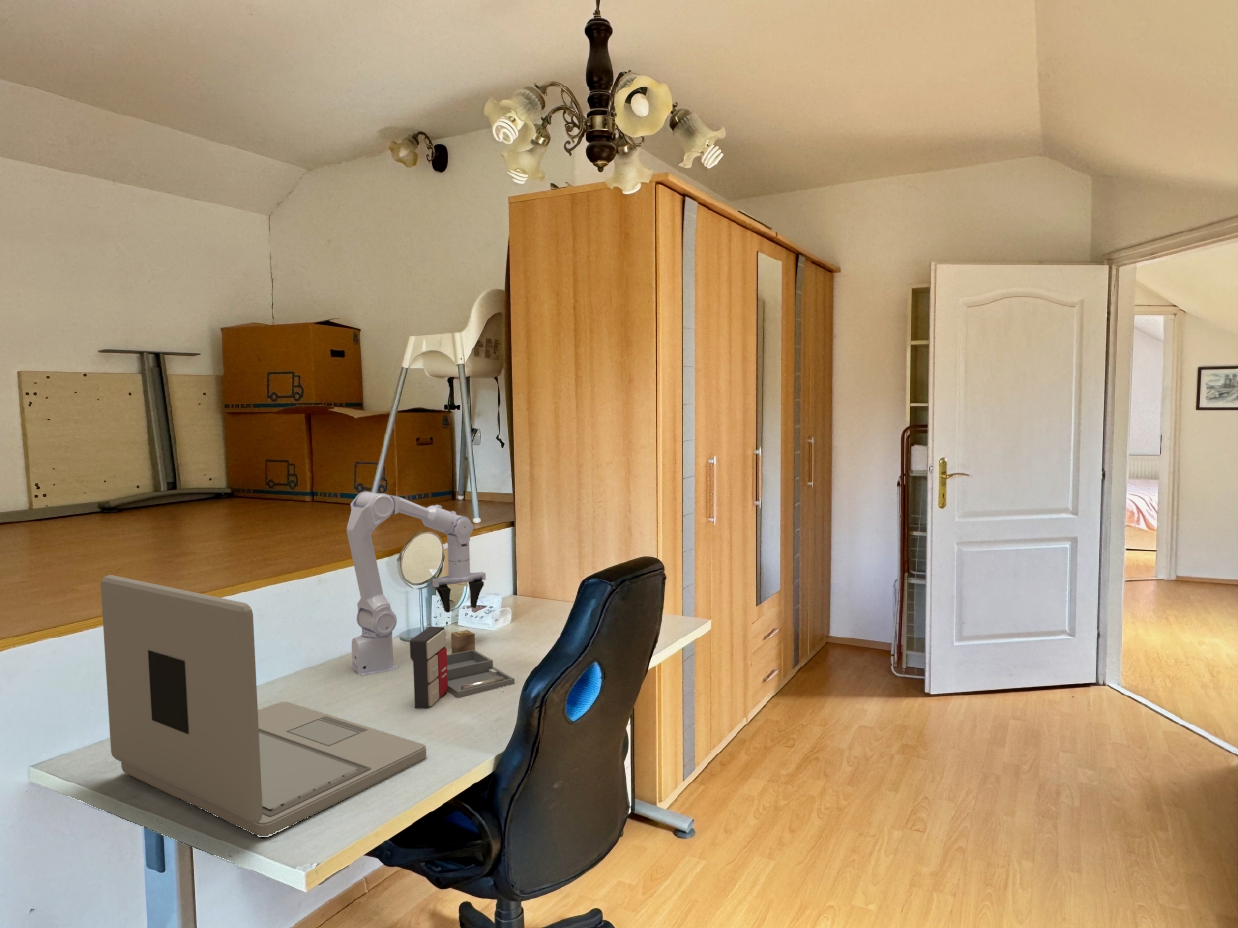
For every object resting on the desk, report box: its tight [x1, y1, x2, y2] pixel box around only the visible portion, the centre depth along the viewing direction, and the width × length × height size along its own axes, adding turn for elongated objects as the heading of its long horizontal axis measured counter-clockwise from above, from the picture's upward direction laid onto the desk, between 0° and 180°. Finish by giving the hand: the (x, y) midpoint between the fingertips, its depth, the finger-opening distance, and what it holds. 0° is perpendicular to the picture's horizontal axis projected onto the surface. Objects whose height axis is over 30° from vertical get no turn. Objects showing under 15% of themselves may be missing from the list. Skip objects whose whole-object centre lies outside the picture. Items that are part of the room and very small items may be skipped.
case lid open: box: [447, 666, 516, 699], centre depth 182 cm, size 14×11×2 cm
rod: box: [461, 677, 504, 690], centre depth 179 cm, size 10×1×1 cm
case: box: [447, 649, 494, 681], centre depth 191 cm, size 14×11×3 cm
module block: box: [450, 629, 476, 654], centre depth 203 cm, size 4×4×6 cm
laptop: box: [100, 574, 427, 836], centre depth 140 cm, size 44×34×36 cm
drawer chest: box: [409, 626, 448, 710], centre depth 173 cm, size 11×4×15 cm, turn 171°
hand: (460, 609), depth 213 cm, fingers open, 7 cm apart
